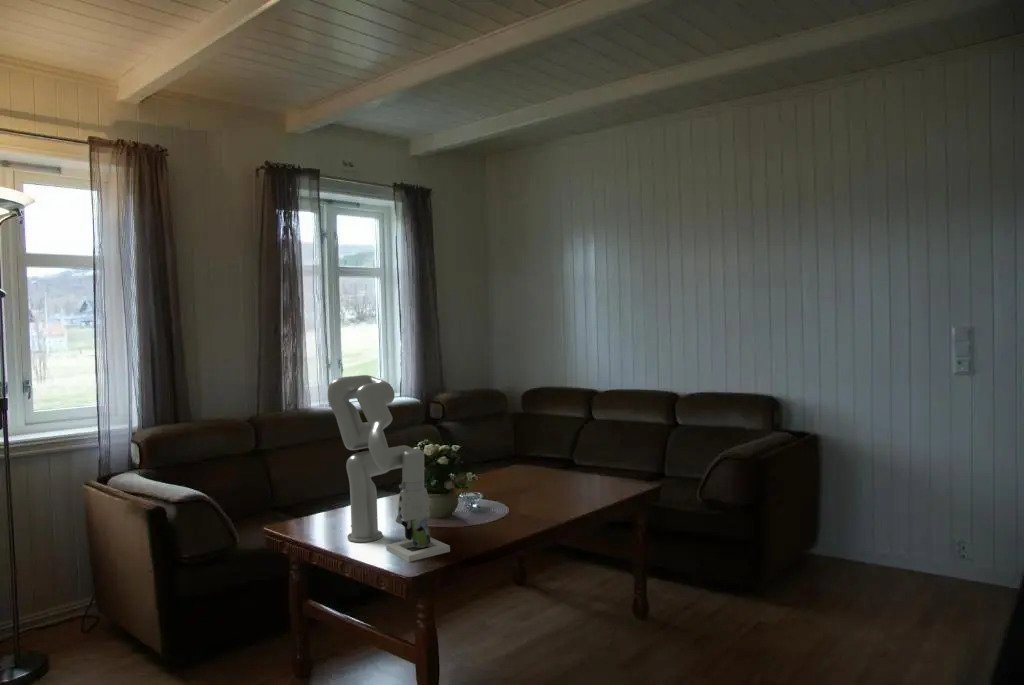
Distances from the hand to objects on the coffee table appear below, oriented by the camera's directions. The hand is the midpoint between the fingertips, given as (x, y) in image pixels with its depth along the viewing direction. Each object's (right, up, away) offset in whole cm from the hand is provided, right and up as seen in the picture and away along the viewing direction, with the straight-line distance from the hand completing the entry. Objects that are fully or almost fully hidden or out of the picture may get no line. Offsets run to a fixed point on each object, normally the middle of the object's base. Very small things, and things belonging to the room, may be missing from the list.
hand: (413, 537), depth 253 cm
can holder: (+2, -4, -1) cm, 5 cm away
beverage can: (+2, -4, +1) cm, 4 cm away
